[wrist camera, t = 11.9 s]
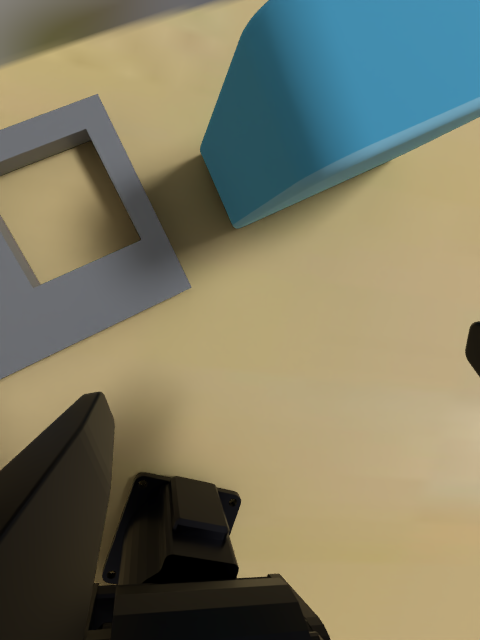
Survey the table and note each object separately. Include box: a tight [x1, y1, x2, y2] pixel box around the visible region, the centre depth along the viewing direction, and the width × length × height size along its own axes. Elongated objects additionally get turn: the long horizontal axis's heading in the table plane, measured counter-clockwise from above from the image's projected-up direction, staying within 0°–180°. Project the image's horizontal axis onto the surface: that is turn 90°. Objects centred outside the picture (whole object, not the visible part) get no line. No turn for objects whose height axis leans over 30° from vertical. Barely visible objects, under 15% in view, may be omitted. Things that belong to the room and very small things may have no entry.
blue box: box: [200, 0, 480, 229], centre depth 16 cm, size 12×4×12 cm, turn 115°
